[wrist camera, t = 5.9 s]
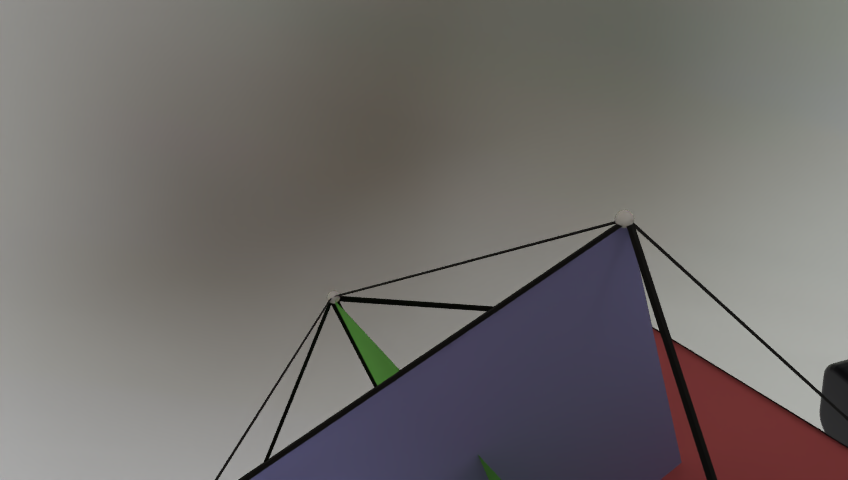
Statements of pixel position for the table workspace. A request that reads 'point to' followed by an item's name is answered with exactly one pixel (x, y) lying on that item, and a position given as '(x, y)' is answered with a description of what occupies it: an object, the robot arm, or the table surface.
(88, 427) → the table surface
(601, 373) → the icosahedron model
